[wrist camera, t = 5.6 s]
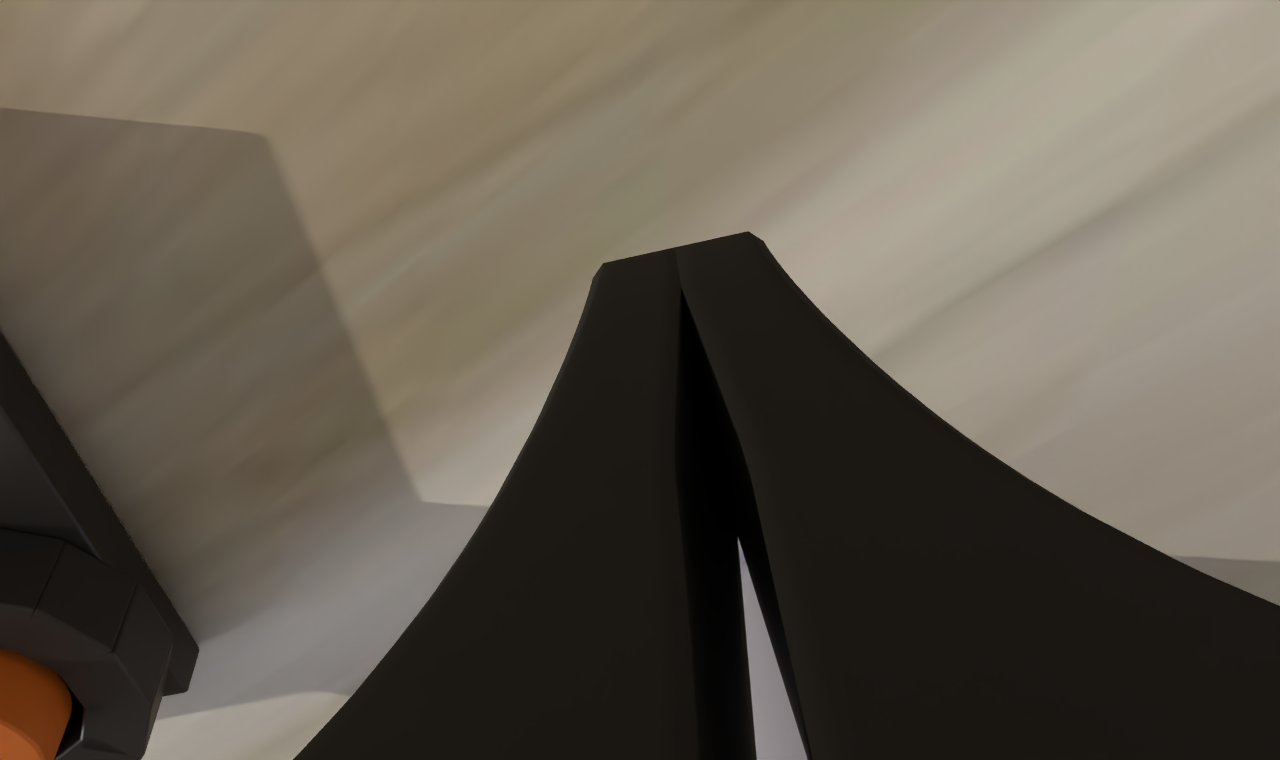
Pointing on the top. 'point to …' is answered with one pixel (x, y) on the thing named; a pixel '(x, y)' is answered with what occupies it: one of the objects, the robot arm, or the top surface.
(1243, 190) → the top surface
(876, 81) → the top surface
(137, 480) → the top surface
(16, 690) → the button
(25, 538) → the scale
